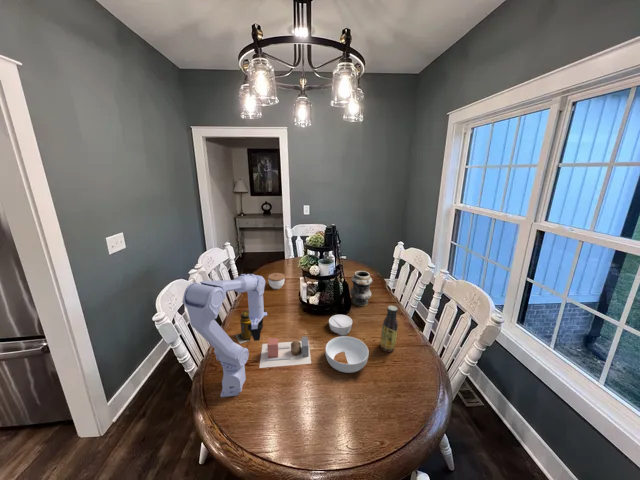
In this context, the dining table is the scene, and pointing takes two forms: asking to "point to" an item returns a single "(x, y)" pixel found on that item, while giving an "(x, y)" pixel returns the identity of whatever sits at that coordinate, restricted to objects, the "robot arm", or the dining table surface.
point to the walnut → (295, 348)
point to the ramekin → (340, 324)
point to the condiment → (244, 328)
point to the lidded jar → (276, 280)
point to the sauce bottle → (389, 330)
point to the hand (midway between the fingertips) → (258, 334)
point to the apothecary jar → (361, 288)
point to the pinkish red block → (272, 347)
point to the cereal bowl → (347, 353)
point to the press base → (286, 355)
